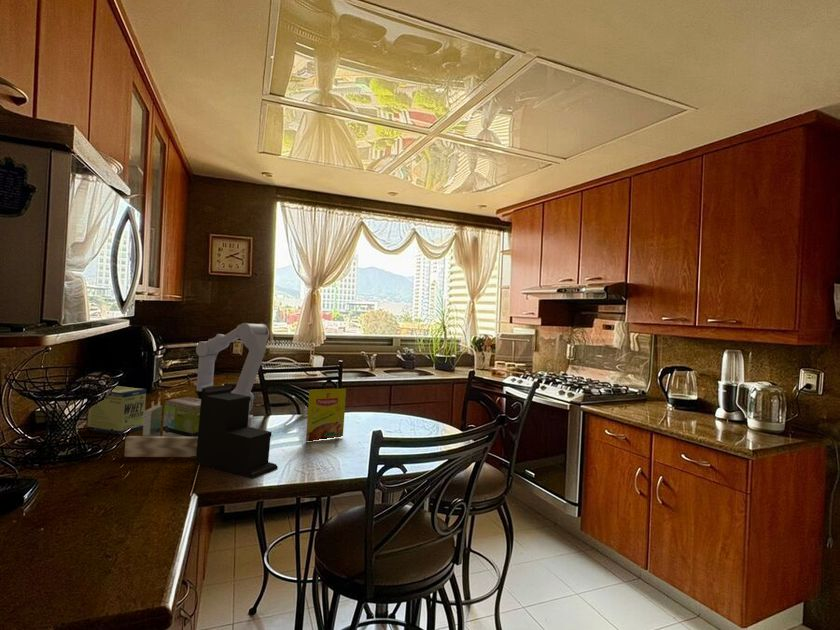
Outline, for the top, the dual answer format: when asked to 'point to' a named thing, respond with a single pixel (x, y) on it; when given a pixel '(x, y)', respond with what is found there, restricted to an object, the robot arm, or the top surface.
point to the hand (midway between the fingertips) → (203, 406)
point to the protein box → (119, 411)
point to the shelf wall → (160, 446)
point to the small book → (152, 421)
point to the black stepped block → (231, 435)
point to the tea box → (181, 417)
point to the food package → (325, 413)
